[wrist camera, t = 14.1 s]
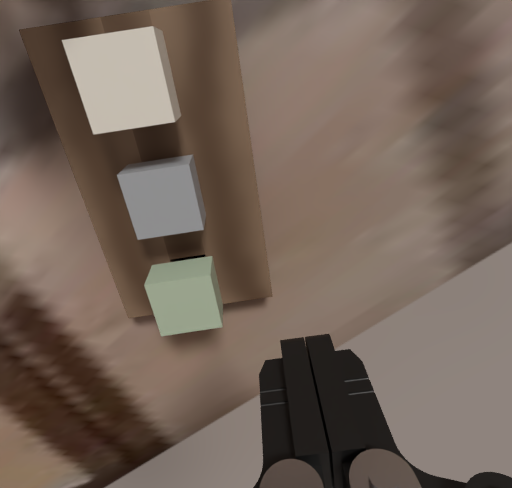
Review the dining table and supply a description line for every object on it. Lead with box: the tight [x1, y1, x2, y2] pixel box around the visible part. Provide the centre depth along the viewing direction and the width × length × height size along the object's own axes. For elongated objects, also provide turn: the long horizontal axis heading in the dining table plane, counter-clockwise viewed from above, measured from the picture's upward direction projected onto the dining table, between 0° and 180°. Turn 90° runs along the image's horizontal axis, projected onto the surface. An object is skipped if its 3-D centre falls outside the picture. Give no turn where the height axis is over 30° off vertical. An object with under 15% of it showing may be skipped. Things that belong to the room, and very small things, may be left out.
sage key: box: [144, 256, 223, 336], centre depth 30 cm, size 5×5×6 cm
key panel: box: [19, 0, 272, 318], centre depth 30 cm, size 14×24×3 cm, turn 8°
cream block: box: [62, 26, 181, 135], centre depth 23 cm, size 5×5×6 cm
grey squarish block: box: [117, 155, 206, 240], centre depth 28 cm, size 5×5×6 cm
